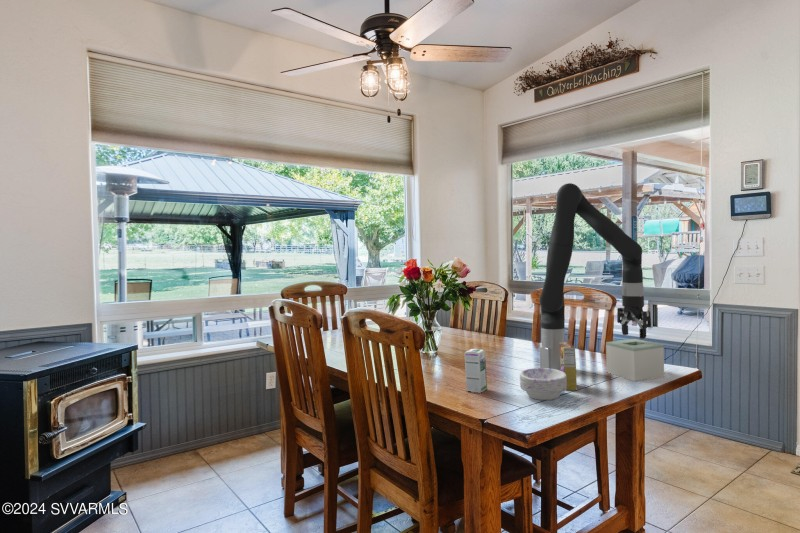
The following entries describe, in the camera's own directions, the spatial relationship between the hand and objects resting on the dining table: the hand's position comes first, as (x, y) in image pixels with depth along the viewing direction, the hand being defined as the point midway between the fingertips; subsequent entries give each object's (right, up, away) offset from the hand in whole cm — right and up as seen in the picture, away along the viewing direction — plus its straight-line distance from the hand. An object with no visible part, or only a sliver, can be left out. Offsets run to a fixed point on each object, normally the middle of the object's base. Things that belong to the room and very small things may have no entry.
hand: (633, 336), depth 185 cm
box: (+1, -15, +1) cm, 15 cm away
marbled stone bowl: (-41, -18, -21) cm, 49 cm away
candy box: (-29, -17, -11) cm, 35 cm away
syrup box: (-62, -18, -11) cm, 65 cm away
